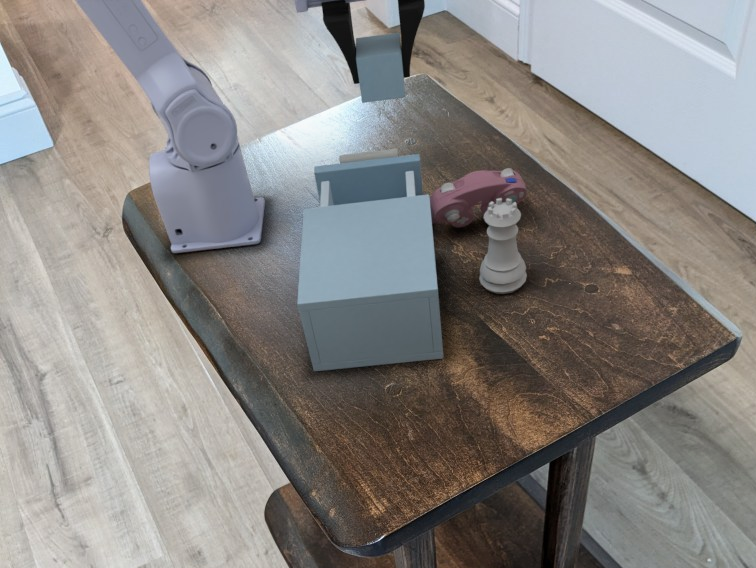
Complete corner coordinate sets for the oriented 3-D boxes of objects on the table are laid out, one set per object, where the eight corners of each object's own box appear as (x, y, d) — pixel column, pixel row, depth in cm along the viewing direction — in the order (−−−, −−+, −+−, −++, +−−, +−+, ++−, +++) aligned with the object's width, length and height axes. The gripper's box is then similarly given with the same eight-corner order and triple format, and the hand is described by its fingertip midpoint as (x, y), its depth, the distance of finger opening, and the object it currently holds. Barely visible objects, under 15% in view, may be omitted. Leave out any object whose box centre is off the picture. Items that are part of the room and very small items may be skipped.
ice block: (362, 103, 87) (355, 58, 83) (361, 81, 89) (355, 37, 86) (405, 97, 86) (401, 52, 83) (403, 76, 89) (399, 32, 86)
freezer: (318, 276, 85) (303, 208, 79) (435, 263, 84) (429, 193, 78) (313, 371, 77) (297, 304, 71) (443, 358, 76) (437, 288, 70)
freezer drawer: (325, 193, 92) (315, 141, 88) (422, 181, 91) (417, 129, 87) (321, 294, 82) (310, 242, 77) (430, 282, 81) (425, 229, 76)
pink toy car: (432, 248, 88) (436, 211, 81) (420, 209, 89) (423, 169, 82) (524, 225, 89) (536, 186, 82) (511, 186, 90) (522, 144, 83)
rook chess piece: (469, 283, 82) (465, 208, 75) (501, 260, 83) (501, 185, 77) (504, 302, 79) (503, 227, 73) (536, 278, 81) (539, 203, 75)
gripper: (443, -107, 78) (451, 48, 89) (285, -84, 79) (312, 66, 90) (448, -78, 74) (456, 81, 84) (281, -54, 75) (310, 99, 85)
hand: (382, 75), depth 87 cm, fingers closed on ice block, 4 cm apart
